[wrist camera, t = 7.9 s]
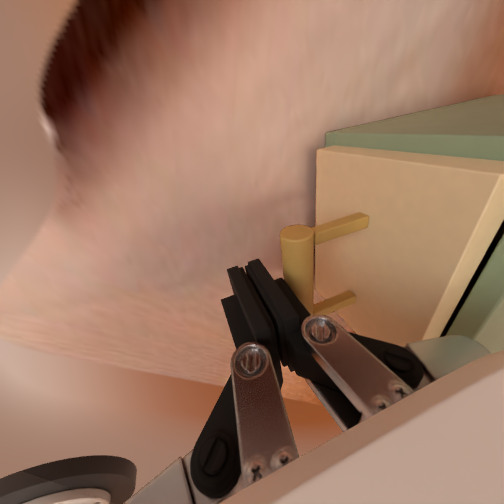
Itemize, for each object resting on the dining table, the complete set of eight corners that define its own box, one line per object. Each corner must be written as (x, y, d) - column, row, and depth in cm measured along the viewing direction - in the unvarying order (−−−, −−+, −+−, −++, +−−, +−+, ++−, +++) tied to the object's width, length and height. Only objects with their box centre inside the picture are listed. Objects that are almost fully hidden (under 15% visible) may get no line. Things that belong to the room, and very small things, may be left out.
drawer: (267, 307, 16) (331, 421, 10) (243, 166, 11) (358, 222, 4) (431, 243, 20) (558, 298, 13) (480, 110, 14) (744, 93, 8)
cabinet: (320, 282, 18) (434, 396, 11) (325, 132, 12) (616, 137, 4) (437, 237, 21) (597, 301, 13) (491, 95, 15) (857, 57, 7)
